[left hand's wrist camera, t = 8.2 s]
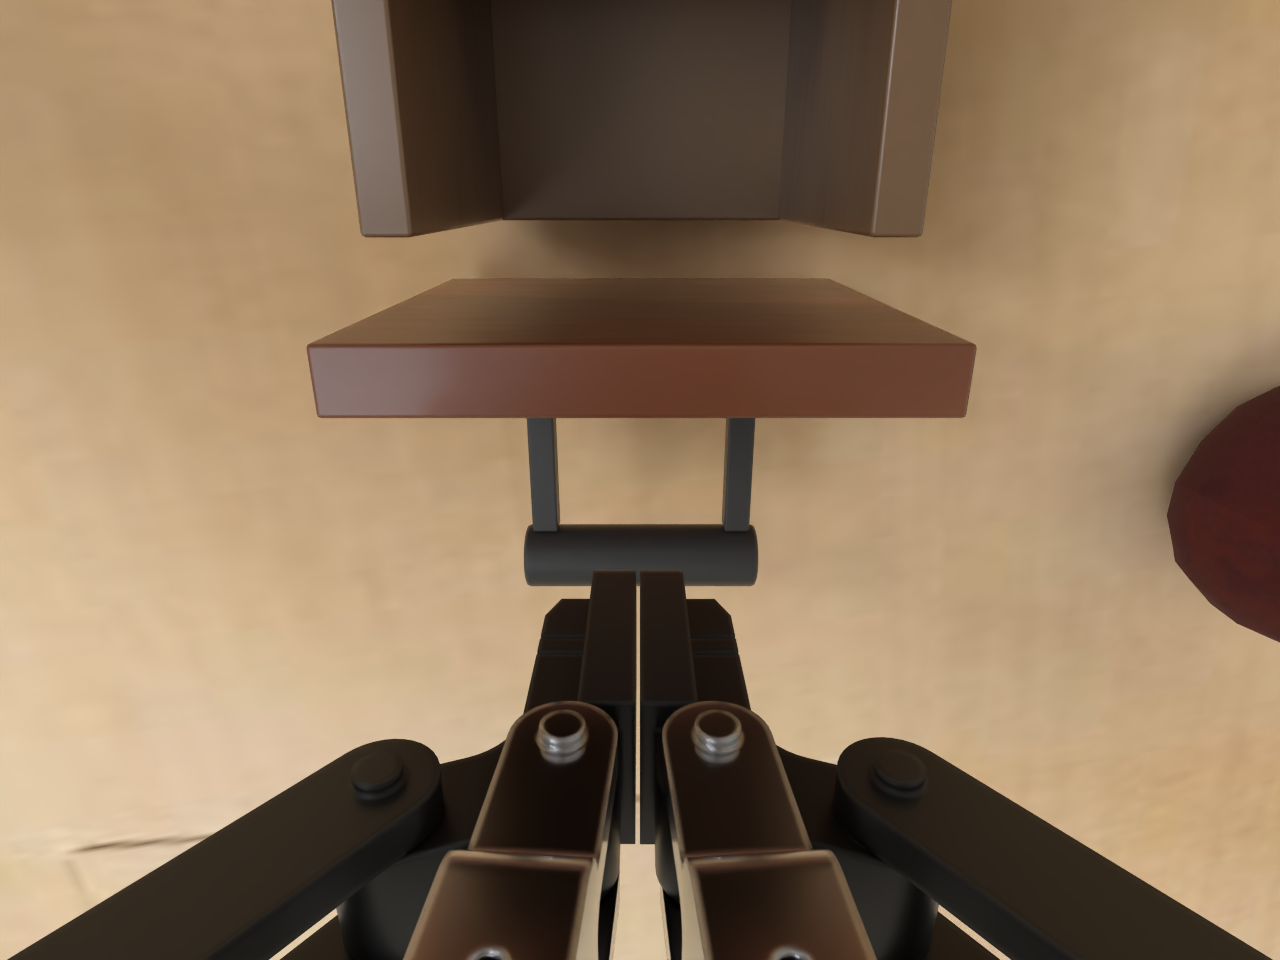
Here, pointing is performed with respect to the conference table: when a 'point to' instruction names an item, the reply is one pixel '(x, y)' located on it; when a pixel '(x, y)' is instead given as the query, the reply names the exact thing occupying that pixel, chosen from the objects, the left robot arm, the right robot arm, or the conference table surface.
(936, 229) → the conference table surface
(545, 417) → the drawer
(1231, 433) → the dark maroon ball
